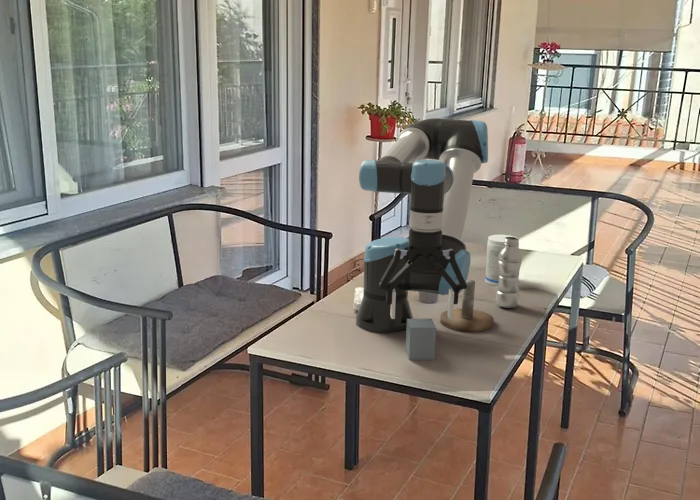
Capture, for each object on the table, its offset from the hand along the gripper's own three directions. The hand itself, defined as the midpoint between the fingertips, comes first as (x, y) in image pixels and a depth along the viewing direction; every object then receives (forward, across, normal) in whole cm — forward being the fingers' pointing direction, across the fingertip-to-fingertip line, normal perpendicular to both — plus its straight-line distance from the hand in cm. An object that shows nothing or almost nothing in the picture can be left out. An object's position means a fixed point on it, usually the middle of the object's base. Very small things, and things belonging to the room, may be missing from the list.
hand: (421, 317), depth 185 cm
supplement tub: (+9, +34, +57) cm, 67 cm away
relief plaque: (+10, -7, +40) cm, 42 cm away
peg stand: (+9, +16, +22) cm, 29 cm away
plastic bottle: (+9, +30, +35) cm, 48 cm away
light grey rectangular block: (+10, 0, 0) cm, 10 cm away
